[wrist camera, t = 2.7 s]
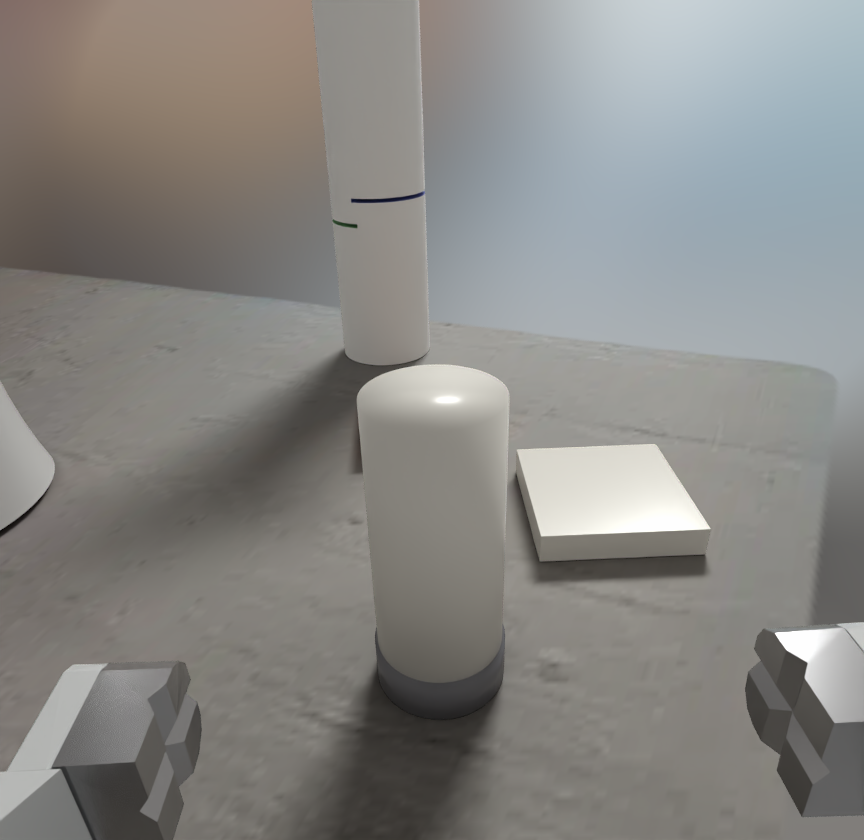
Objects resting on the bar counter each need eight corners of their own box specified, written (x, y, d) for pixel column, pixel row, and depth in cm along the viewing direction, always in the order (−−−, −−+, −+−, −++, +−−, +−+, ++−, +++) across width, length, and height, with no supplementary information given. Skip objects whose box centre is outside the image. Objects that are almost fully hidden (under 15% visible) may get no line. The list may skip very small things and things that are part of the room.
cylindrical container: (417, 368, 53) (402, -7, 41) (332, 361, 55) (294, -1, 43) (438, 335, 59) (430, 1, 47) (361, 331, 61) (334, 5, 49)
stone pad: (539, 561, 32) (541, 536, 32) (515, 471, 39) (516, 449, 39) (705, 554, 32) (710, 529, 32) (652, 466, 39) (655, 444, 39)
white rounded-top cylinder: (375, 722, 25) (347, 436, 19) (380, 622, 29) (358, 366, 23) (511, 716, 25) (524, 429, 19) (496, 617, 29) (501, 360, 24)
